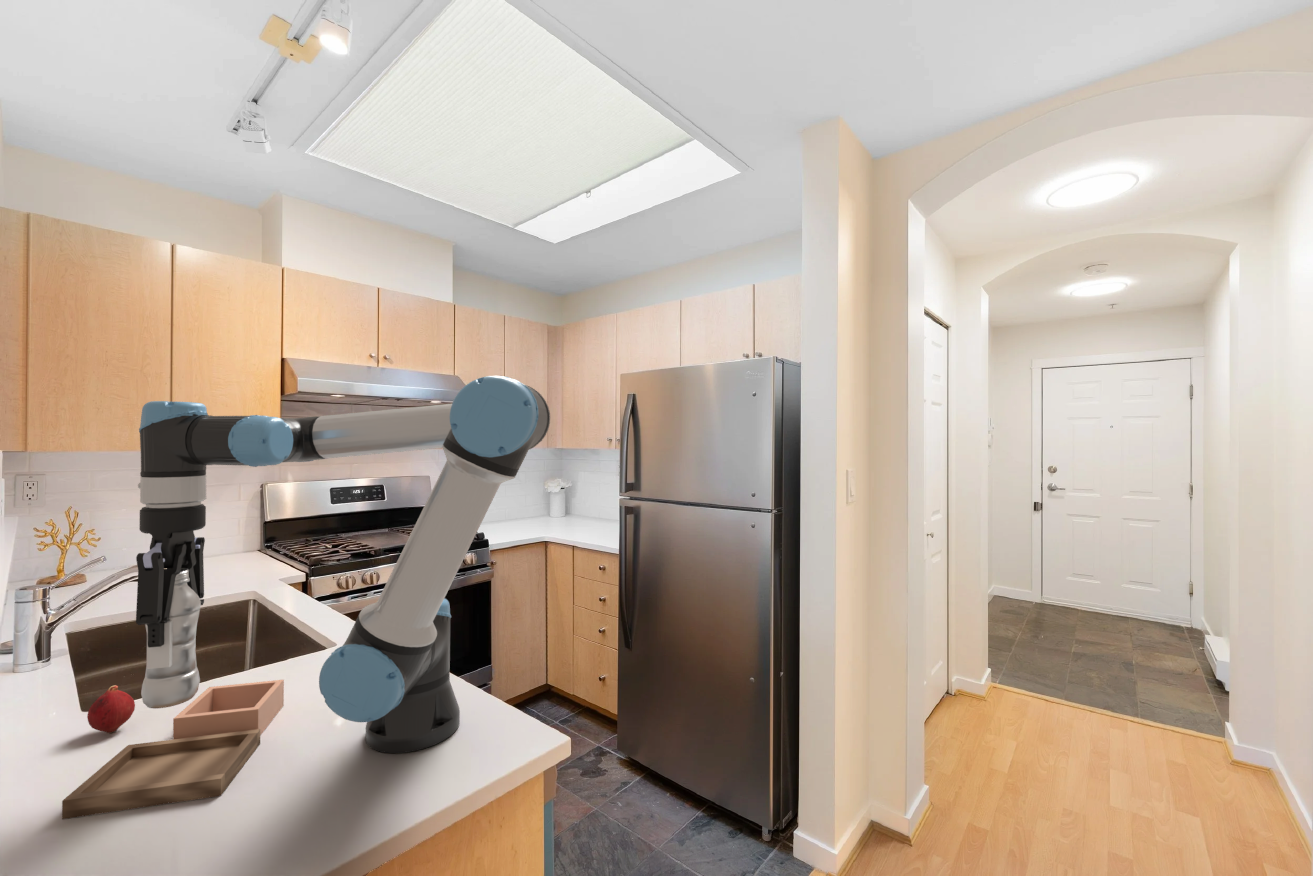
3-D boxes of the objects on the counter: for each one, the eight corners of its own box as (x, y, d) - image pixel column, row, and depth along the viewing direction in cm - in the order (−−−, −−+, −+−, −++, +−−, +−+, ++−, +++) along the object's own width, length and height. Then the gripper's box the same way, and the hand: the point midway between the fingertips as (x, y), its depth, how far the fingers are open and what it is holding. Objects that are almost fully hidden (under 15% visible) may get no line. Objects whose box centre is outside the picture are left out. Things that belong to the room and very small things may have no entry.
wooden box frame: (283, 705, 106) (283, 679, 106) (258, 738, 95) (258, 709, 95) (209, 714, 103) (209, 687, 103) (173, 749, 91) (173, 718, 91)
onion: (104, 743, 93) (104, 695, 93) (77, 739, 94) (78, 692, 94) (143, 725, 98) (143, 680, 98) (117, 722, 100) (117, 677, 100)
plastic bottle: (155, 697, 86) (156, 567, 86) (208, 691, 88) (209, 564, 88) (130, 717, 80) (131, 577, 79) (187, 711, 82) (188, 574, 81)
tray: (260, 744, 93) (260, 729, 93) (220, 796, 79) (220, 778, 79) (128, 760, 88) (128, 745, 88) (62, 819, 74) (62, 800, 74)
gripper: (177, 498, 92) (176, 638, 92) (99, 513, 73) (98, 688, 73) (231, 497, 94) (230, 634, 94) (168, 511, 76) (166, 682, 76)
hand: (172, 657), depth 84 cm, fingers closed on plastic bottle, 6 cm apart
